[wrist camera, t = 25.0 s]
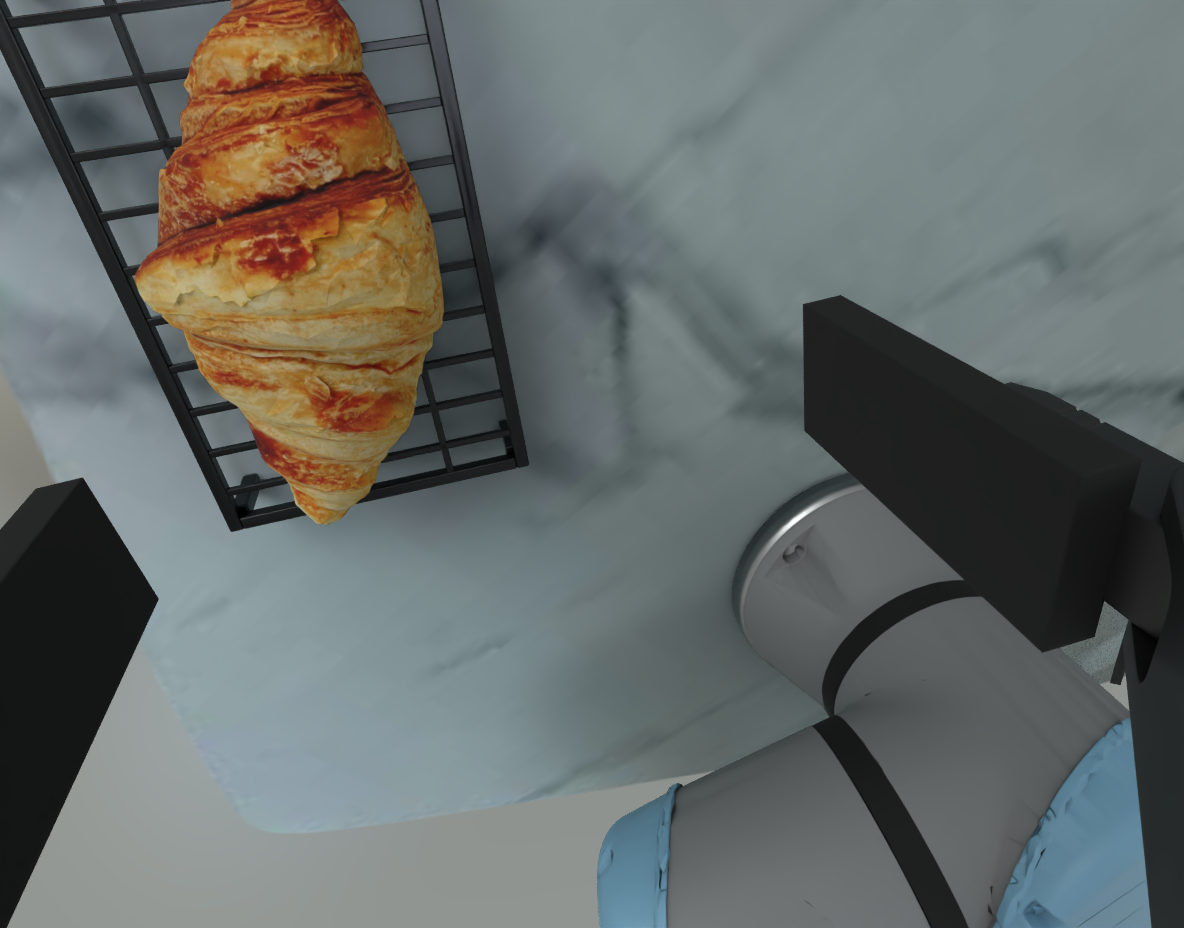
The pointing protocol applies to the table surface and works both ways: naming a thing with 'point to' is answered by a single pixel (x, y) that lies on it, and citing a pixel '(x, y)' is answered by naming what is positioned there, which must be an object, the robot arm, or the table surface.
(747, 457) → the table surface
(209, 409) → the cooling rack
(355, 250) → the croissant
